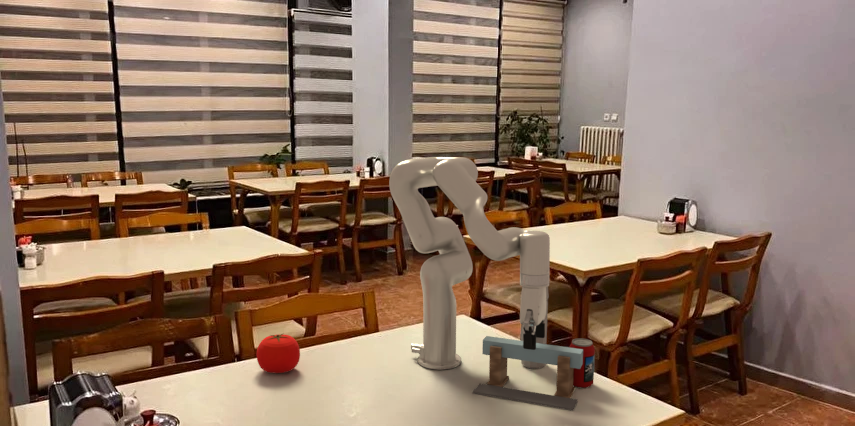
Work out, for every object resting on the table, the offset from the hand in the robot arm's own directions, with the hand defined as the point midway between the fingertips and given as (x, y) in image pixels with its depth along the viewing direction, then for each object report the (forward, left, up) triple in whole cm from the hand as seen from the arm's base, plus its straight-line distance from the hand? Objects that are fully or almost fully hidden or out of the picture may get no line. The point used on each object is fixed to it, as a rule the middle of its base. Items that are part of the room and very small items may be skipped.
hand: (534, 343), depth 180 cm
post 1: (-10, 0, -13) cm, 16 cm away
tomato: (-69, -16, -13) cm, 72 cm away
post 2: (+8, 0, -13) cm, 15 cm away
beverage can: (+11, +8, -13) cm, 19 cm away
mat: (-1, -6, -13) cm, 14 cm away
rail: (-1, 0, -5) cm, 5 cm away
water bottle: (-5, +17, -13) cm, 21 cm away
